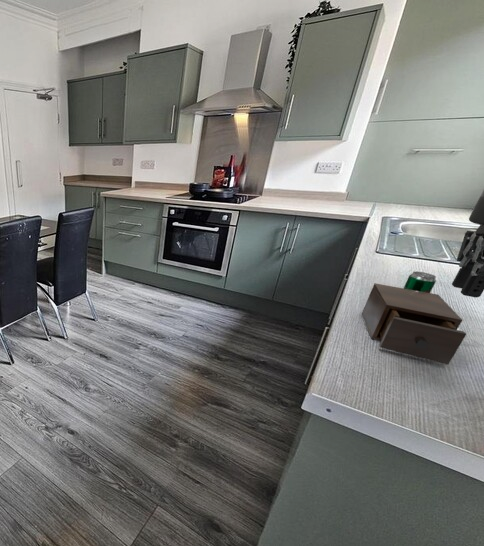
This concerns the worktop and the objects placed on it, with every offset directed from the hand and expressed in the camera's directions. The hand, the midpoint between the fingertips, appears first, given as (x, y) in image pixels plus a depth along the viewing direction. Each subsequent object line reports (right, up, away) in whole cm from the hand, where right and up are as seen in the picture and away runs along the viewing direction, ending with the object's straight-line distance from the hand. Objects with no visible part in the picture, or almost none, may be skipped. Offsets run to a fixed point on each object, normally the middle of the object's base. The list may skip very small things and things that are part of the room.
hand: (464, 291), depth 57 cm
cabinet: (+10, -12, +21) cm, 26 cm away
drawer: (+6, -13, +16) cm, 22 cm away
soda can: (+22, -8, +31) cm, 39 cm away
